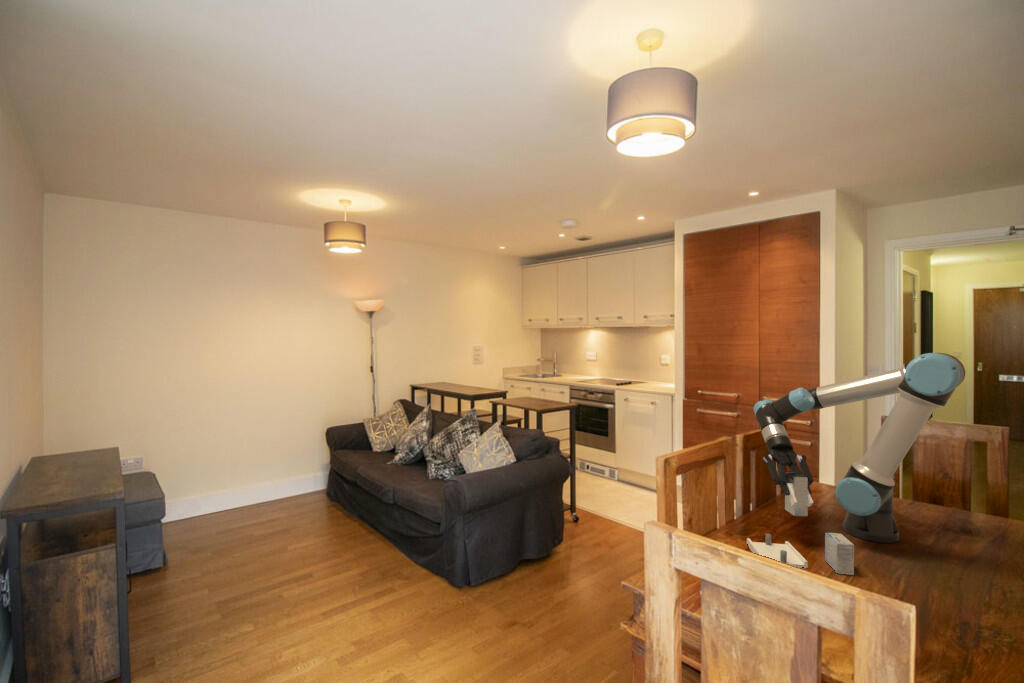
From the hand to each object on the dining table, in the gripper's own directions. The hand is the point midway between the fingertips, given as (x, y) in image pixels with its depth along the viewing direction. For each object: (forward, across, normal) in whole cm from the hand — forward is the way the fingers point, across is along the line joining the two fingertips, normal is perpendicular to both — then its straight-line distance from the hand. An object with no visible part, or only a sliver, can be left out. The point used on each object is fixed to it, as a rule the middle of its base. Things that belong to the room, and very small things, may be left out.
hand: (802, 504), depth 152 cm
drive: (0, 0, -6) cm, 6 cm away
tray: (+14, +11, -5) cm, 19 cm away
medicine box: (+19, -4, -1) cm, 19 cm away
